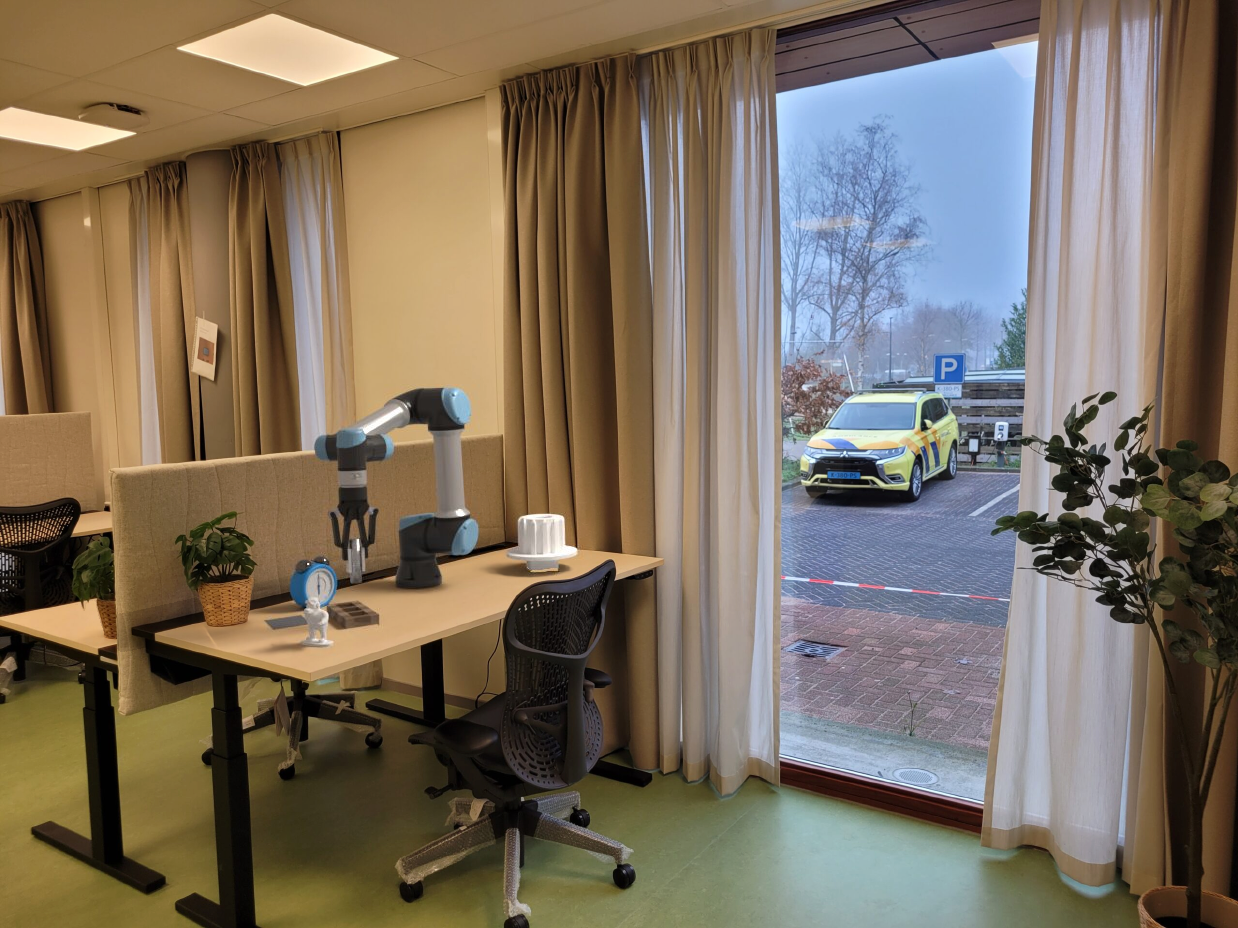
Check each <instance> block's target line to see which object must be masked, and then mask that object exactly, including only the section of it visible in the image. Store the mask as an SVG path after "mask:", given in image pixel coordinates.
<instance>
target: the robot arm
mask: <svg viewBox="0 0 1238 928" xmlns="http://www.w3.org/2000/svg"><path fill="white" fill-rule="evenodd" d="M471 416H472V406H471V402H470V399H469V397H468V395H467V394H466V393H465V391H463V390H462V389H461V388H458V387H448V386H446V387H427V388H423V387H420V388H414V389H411V390H408V391H406V392H403V393H401V394H399V395H397V396H395V397H393V398H391V399H389V400H388V401H386V402H385V404H384V405H383V407H381V408H380V409H378V410H376V411H374V412H372V413H370V414H368V415H367V416H365V417H364V418H362V419H360V420H358V421H356V422H354V423H351V425H349V426H347V427H344V428H343V429H339V430H338V431H336V433H333V434H329V433H328V434H321V435H319V436H318V437H317V438H316V439H315V441H314V445H313V449H314V453H315V457H316V458H318V459H319V460H320V461H323V462H324V461H326V462H330V463H331V462H337V484H338V486H339V487H338V488H337V489H338V490H337V491H338V493H337V494H338V504H337V506H336V508H335V509H334V510H329V511H328V512H327V514H328V516H329V518H330V520H331V528H332V535H333V543H334V544H333V545H334V547H337V548H340V549H341V559H342V561H344V562H345V571H346V573H348V574H350V573H352V563H351V549H350V548H349V539H350V534H351V526H352V522H353V521H354V520H356V523H357V529H358V532H359V534H358V535H359V538H360V545H361V572H366V559H369V547H370V545H374V544H375V543H376V541H375V540H376V526H377V517H378V513H379V508H376V507H373V506H370V503H369V502H368V486H365V485H367V483H368V479H367V476H368V475H367V463H373V462H379V463H380V462H383V461H386V460H389V459H390V458H391V457H392V456H393V454H394V450H395V445H394V442H393V440H392V438H391V437H390V436H388V435H387V434H388V433H390V432H392V431H393V430H395V429H403V428H405V427H407V426H412V425H426V426H427V432H428V433H430V434H431V435H432V441H433V453H434V455H433V456H434V467H435V469H434V470H435V482H436V497H437V498H436V499H437V510H436V512H434V513H433V512H425V513H418V514H412V515H407V516H403V517H401V518H400V519H399V521H398V530H397V532H398V543H399V544H398V547H399V564H398V567H397V571H396V575H395V579H394V580H395V581H394V582H395V586H396V587H398V588H402V589H423V588H430V587H436V586H439V585H441V584H442V583H443V575H442V573H441V570H440V567H439V564H438V562H437V555H441V554H442V555H453V556H460V555H461V556H465V555H468V554H469V553H471V552H472V551H473V549H474V548H475V546H476V544H477V542H478V537H479V524H478V523H477V521H476V520H475V519H474V518H471V511H469V510H468V509H467V508H466V500H465V488H464V474H463V473H464V472H463V470H464V469H463V460H462V459H463V456H462V455H463V454H462V441H461V440H462V439H461V435H462V433H463V432H464V430H465V429H466V427H465V425H466V424H468V423H469V421H470V420H471ZM367 512H368V515H369V517H368V529H367V530H366V524H365V515H366V514H367ZM339 514H340V515H341V516H342V517H343V525H342V526H343V527H342V537H341V532H340V524H339V519H338V518H339ZM367 531H368V532H367Z"/></svg>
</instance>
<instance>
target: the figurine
mask: <svg viewBox="0 0 1238 928" xmlns="http://www.w3.org/2000/svg"><path fill="white" fill-rule="evenodd" d="M305 603H307V606H306V608H304V609H303V610H304V612H303V614H304V618H305V619H306V621H307V624H308V628H309V629H308V631H309V632H308V633H309V636H307V637H306V638H305V639H302V640H300V644H301V645H303V646H306V647H307V646H309V647H316V648H327V647H332V646H333V645H334V641H333V640H329V639H327V637H328V636H327V629H328V627H329V617H330V616H329V615H328V613H327V610H324V609H321V607H320V604H319V602H318V598H317V597H313V598H309V599H308V600H306V601H305ZM317 631H318V632H319V634H320V638H316V637H317V633H316V632H317Z"/></svg>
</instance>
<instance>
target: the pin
mask: <svg viewBox="0 0 1238 928" xmlns="http://www.w3.org/2000/svg"><path fill="white" fill-rule="evenodd" d="M361 546H362V545H361V539H360V537H352V538H350V537H349V544H348V548H350V549H351V563H352V573H349V579H350V584H360V583H362V582H363V579H362V578H363V577H362V576H363V575H362V574H363V573H362V571H361Z"/></svg>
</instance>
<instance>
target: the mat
mask: <svg viewBox="0 0 1238 928" xmlns="http://www.w3.org/2000/svg"><path fill="white" fill-rule="evenodd" d="M264 622H265V623H266V624H267V626H269V627H270V628H271V629H272V630H275V631H276V630H281V629H287V628H293V627H294V628H295V627H300V626H301V627H302V626H307V625H308V624H307V621H306V619H305V616H303V615H301V614H299V615H292V616H285V617H278V618H277V617H276V618H271V619H265V620H264ZM308 626H309V625H308Z"/></svg>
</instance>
